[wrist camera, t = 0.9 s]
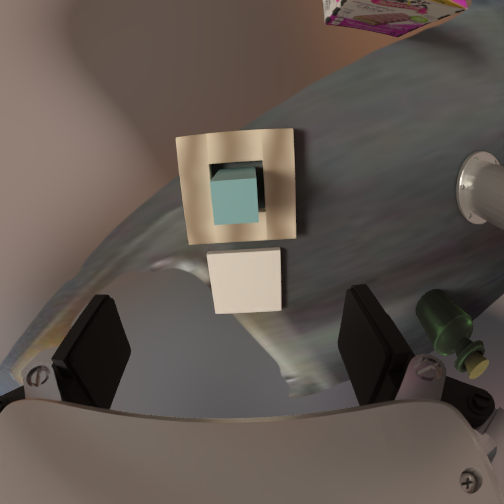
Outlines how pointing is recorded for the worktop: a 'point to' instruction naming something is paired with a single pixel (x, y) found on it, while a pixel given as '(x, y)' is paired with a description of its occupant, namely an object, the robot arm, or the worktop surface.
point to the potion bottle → (451, 332)
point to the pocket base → (236, 150)
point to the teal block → (234, 196)
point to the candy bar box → (388, 14)
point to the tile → (245, 280)
